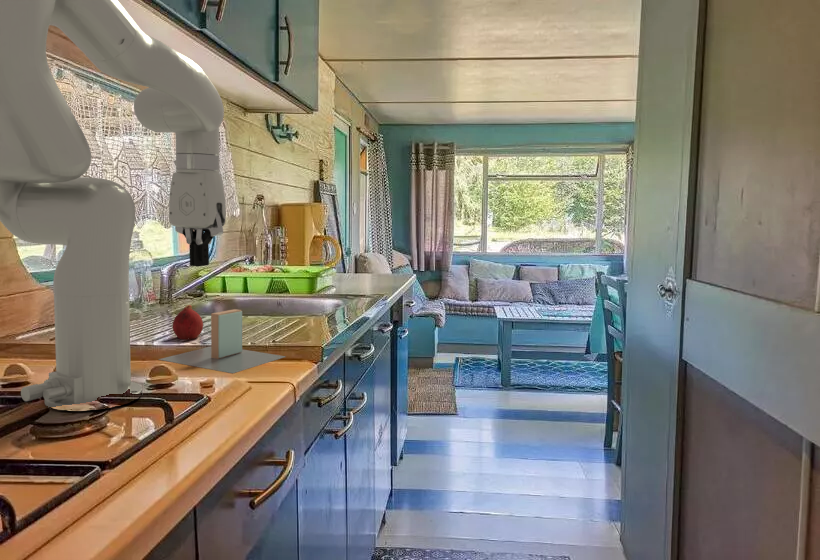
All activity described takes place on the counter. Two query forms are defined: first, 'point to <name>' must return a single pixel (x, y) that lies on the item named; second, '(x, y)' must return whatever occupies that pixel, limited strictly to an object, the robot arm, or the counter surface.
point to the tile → (226, 333)
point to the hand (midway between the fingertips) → (199, 265)
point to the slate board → (223, 360)
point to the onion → (187, 324)
